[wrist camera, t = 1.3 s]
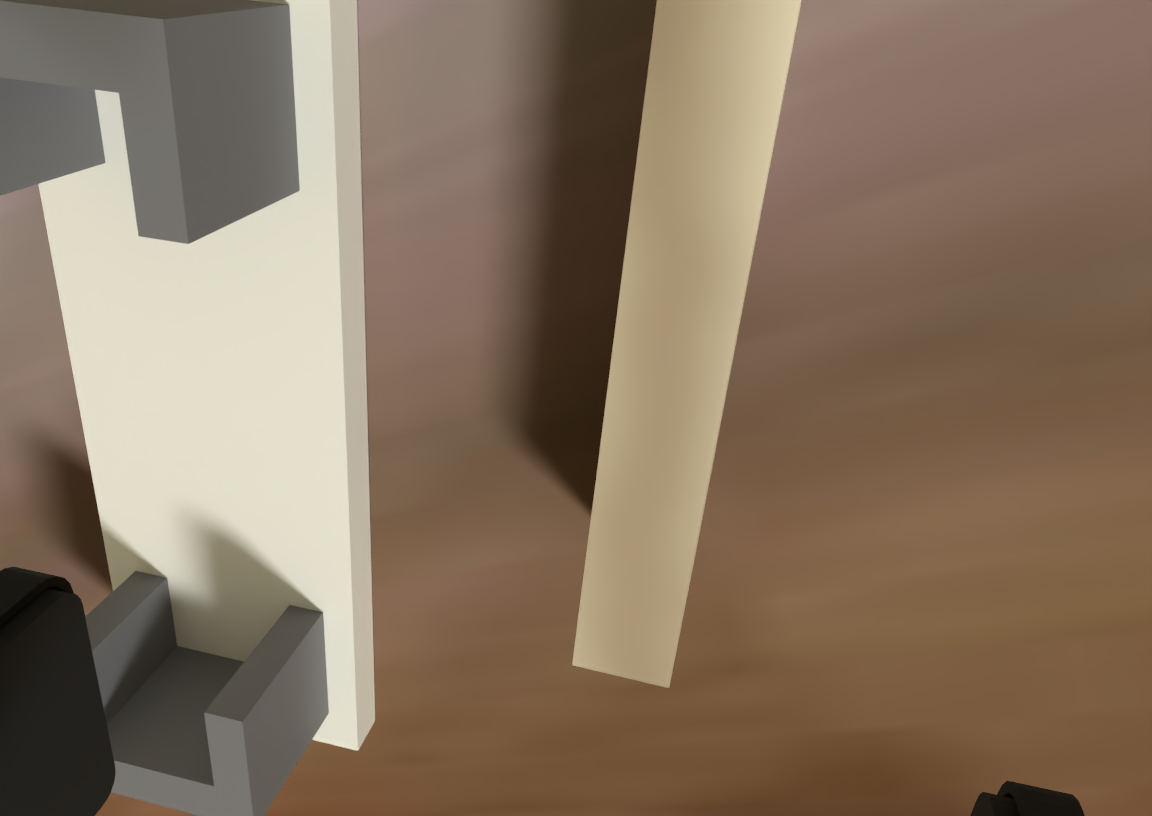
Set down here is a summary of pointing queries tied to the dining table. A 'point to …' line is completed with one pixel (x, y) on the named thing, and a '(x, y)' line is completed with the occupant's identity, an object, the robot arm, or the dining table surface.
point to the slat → (678, 317)
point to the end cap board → (210, 369)
